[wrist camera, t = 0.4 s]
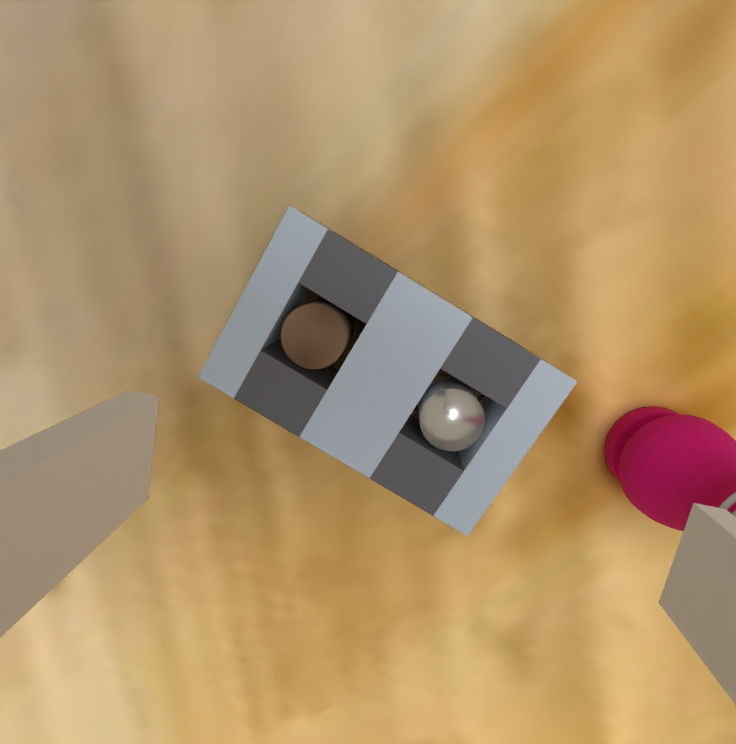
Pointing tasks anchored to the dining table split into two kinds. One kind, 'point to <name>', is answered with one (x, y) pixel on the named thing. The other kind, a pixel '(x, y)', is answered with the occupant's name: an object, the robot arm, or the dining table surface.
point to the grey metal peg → (450, 413)
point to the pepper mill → (672, 464)
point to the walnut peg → (316, 334)
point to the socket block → (383, 373)
